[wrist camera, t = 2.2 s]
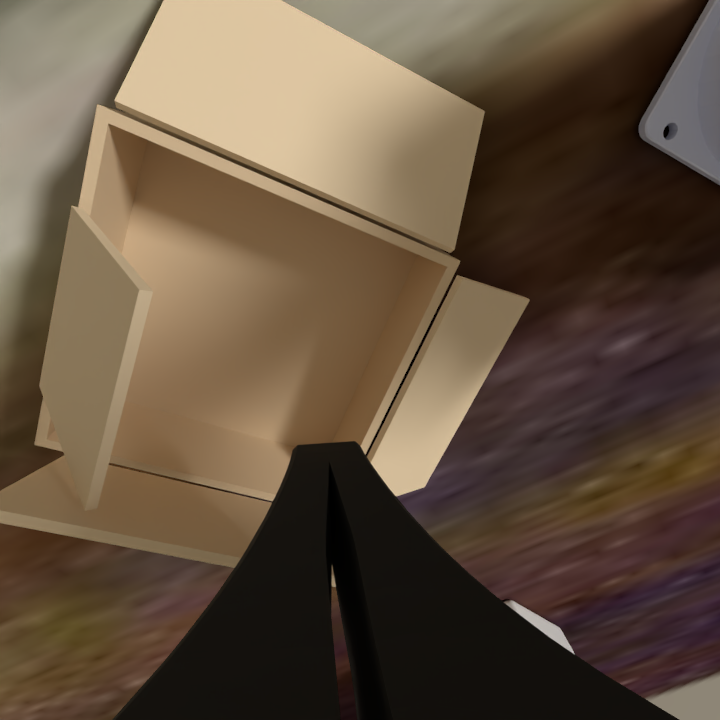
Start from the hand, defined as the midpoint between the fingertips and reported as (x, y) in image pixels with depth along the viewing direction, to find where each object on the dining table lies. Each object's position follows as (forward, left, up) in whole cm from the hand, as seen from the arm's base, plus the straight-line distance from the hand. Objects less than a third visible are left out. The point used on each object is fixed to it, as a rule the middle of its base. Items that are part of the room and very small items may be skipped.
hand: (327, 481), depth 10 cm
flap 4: (-3, 0, -5) cm, 5 cm away
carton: (+2, 0, -8) cm, 9 cm away
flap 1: (+7, 0, -5) cm, 9 cm away
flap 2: (+2, -5, -5) cm, 7 cm away
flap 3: (+2, +5, -5) cm, 7 cm away
